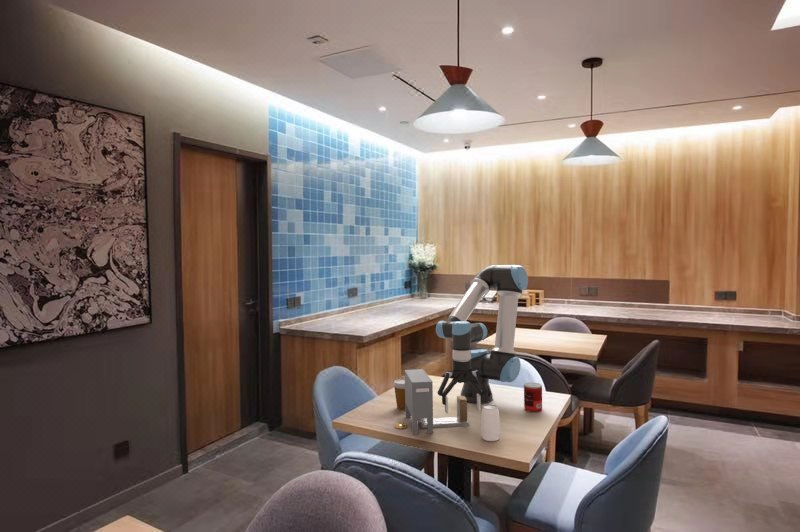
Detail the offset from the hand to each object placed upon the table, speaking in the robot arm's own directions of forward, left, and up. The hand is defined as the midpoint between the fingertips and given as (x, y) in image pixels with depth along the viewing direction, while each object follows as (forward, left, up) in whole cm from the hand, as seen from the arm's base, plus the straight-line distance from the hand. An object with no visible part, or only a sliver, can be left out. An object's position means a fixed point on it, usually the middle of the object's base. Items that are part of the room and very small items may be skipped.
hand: (462, 411), depth 197 cm
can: (-6, +18, -5) cm, 20 cm away
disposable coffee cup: (+21, -24, -5) cm, 32 cm away
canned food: (-35, -12, -5) cm, 37 cm away
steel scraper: (+8, -1, -5) cm, 9 cm away
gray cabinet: (+18, -1, -5) cm, 19 cm away
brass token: (+26, 0, -5) cm, 26 cm away
